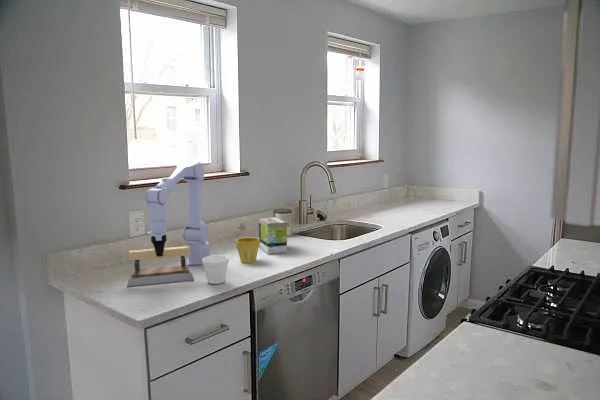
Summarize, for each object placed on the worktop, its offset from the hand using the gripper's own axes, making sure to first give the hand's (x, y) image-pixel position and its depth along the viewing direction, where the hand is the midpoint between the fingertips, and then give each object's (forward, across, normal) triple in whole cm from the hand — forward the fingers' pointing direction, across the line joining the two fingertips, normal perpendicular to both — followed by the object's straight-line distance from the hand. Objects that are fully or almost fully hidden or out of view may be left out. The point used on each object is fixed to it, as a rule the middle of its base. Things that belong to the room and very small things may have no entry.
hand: (159, 255), depth 177 cm
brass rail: (+1, 0, 0) cm, 1 cm away
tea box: (+10, -32, +52) cm, 62 cm away
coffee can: (+10, -62, +65) cm, 90 cm away
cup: (+10, +9, +20) cm, 24 cm away
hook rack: (+10, -11, 0) cm, 15 cm away
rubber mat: (+10, 0, 0) cm, 10 cm away
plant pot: (+10, -16, +37) cm, 42 cm away
